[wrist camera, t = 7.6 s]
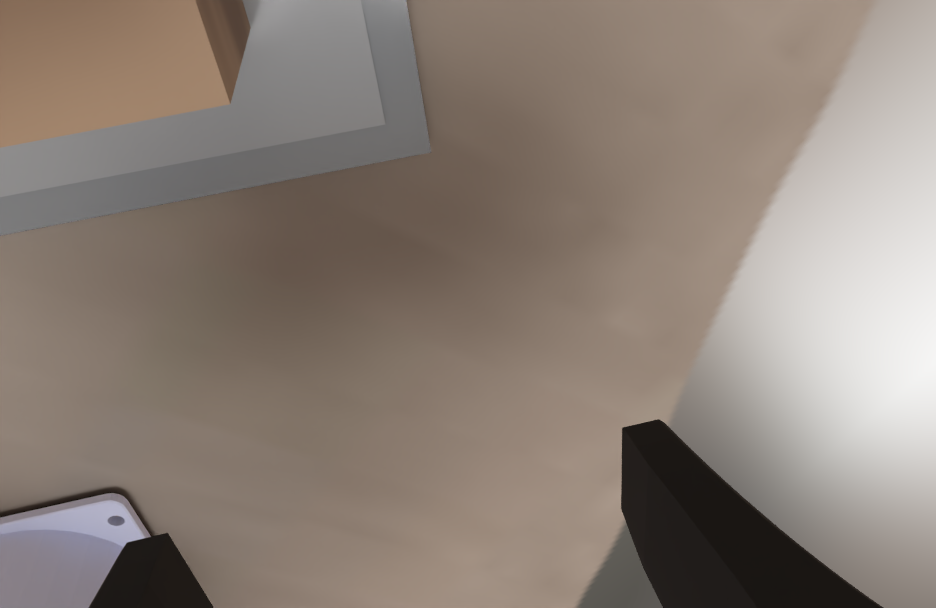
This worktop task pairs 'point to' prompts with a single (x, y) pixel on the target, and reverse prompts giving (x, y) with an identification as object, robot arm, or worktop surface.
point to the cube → (113, 62)
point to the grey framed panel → (242, 121)
